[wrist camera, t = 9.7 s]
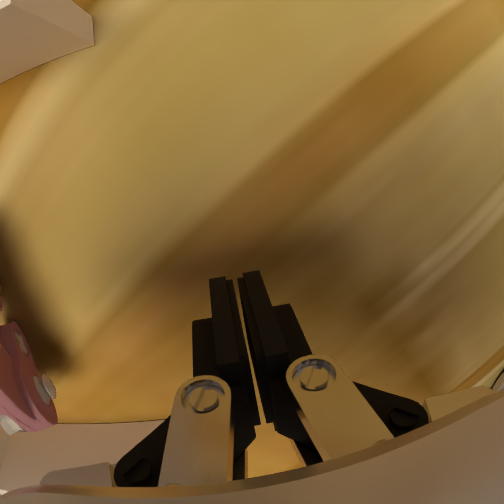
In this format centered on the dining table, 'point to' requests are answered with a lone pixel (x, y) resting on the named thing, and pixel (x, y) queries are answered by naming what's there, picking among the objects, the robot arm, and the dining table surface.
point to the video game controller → (22, 385)
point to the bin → (60, 435)
